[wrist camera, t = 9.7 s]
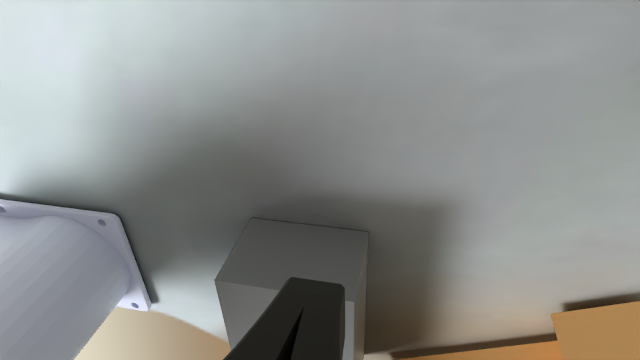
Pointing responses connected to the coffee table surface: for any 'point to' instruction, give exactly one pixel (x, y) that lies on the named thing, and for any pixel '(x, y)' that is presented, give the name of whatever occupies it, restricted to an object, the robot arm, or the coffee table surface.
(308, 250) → the block
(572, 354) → the tan l-shaped bracket
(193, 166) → the coffee table surface
